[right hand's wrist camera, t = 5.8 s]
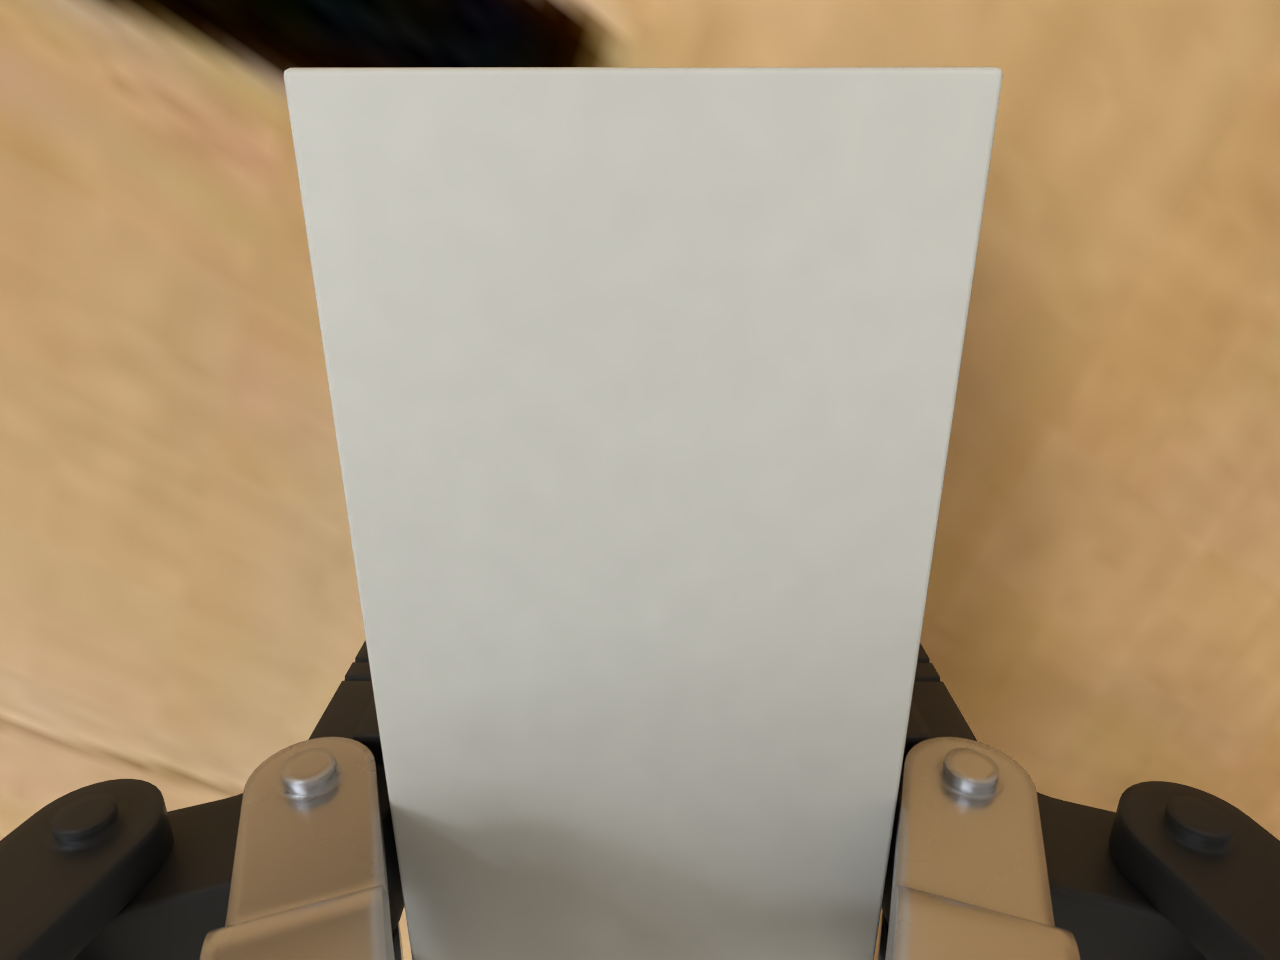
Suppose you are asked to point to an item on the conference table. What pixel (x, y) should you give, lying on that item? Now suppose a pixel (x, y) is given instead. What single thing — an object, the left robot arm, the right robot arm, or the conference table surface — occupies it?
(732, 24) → the conference table surface
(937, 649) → the conference table surface
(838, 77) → the beam
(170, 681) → the conference table surface
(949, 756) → the right robot arm
